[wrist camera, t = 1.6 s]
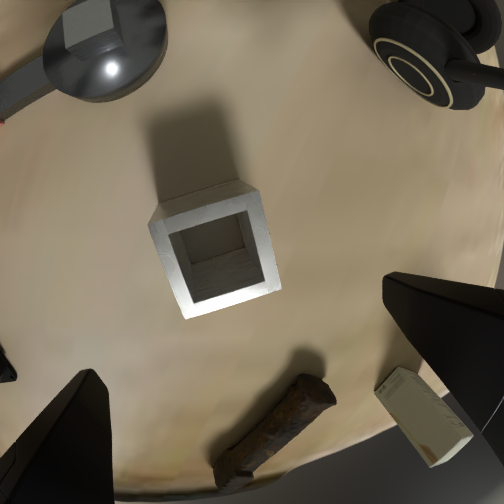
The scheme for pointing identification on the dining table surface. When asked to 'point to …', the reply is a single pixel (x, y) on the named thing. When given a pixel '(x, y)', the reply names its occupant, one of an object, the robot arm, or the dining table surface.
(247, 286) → the square hollow container
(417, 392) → the skincare box
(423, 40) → the headphones
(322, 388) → the hand tool
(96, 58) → the ratchet
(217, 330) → the dining table surface
